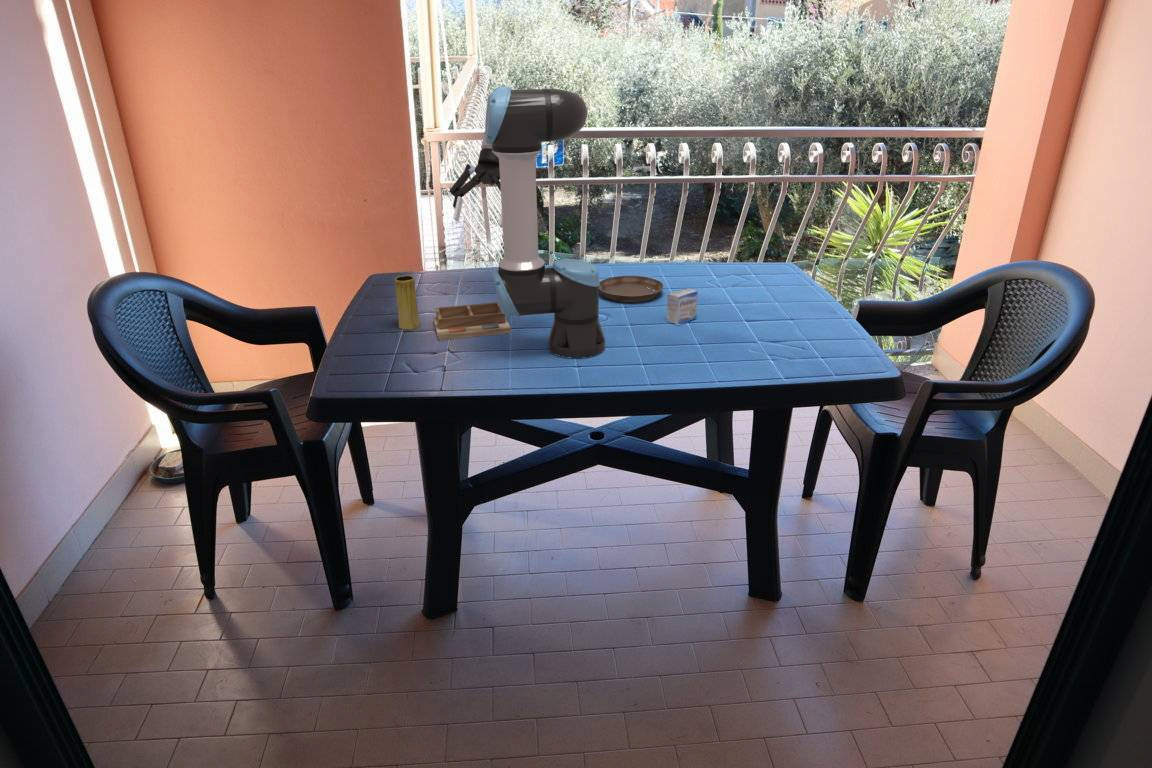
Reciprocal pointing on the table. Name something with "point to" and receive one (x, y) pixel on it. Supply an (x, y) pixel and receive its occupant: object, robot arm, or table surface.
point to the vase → (407, 302)
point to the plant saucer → (630, 288)
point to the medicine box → (682, 306)
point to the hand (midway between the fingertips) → (478, 223)
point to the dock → (470, 321)
